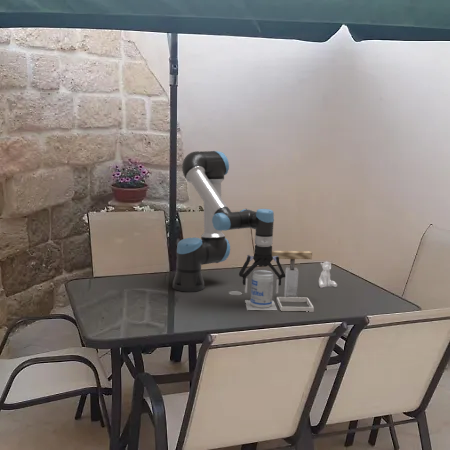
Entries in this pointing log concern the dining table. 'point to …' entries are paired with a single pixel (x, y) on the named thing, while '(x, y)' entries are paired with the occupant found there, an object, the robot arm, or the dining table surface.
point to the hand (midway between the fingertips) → (261, 292)
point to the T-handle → (292, 256)
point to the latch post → (291, 282)
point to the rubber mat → (250, 307)
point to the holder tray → (295, 299)
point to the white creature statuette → (326, 276)
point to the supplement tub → (262, 288)
